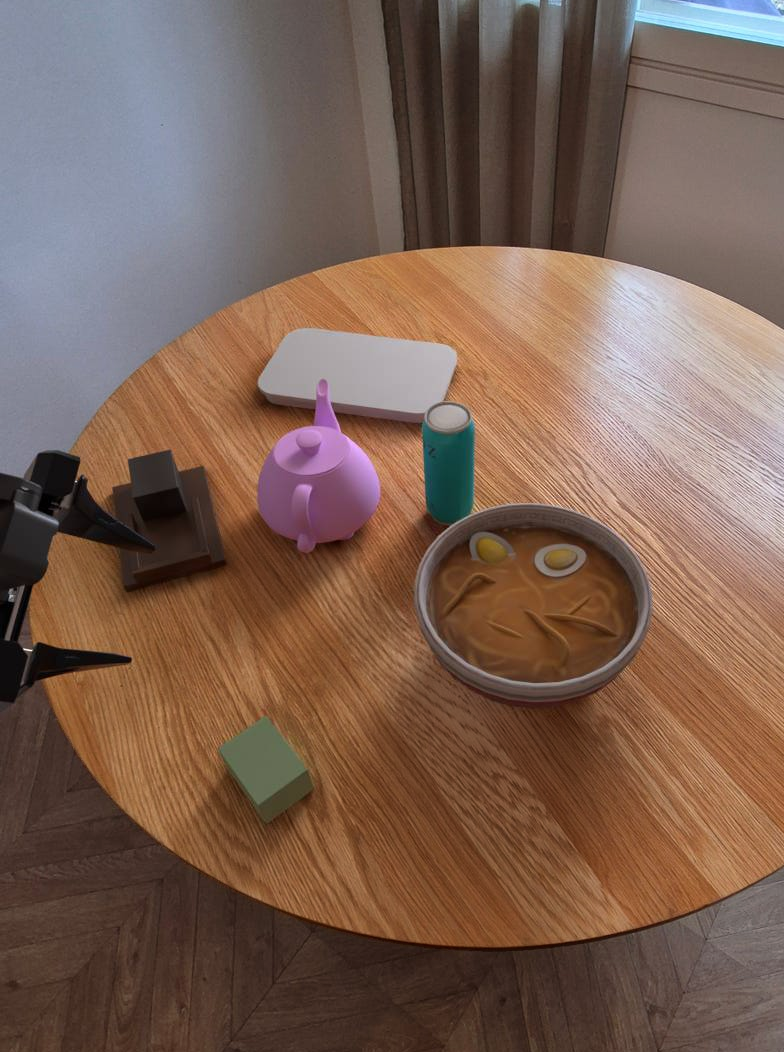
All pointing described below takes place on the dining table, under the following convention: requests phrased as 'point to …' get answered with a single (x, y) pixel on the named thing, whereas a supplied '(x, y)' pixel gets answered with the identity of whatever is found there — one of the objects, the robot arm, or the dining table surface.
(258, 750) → the pad
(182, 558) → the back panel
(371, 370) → the tablet
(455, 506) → the beverage can
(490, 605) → the bowl
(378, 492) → the teapot
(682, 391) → the dining table surface
